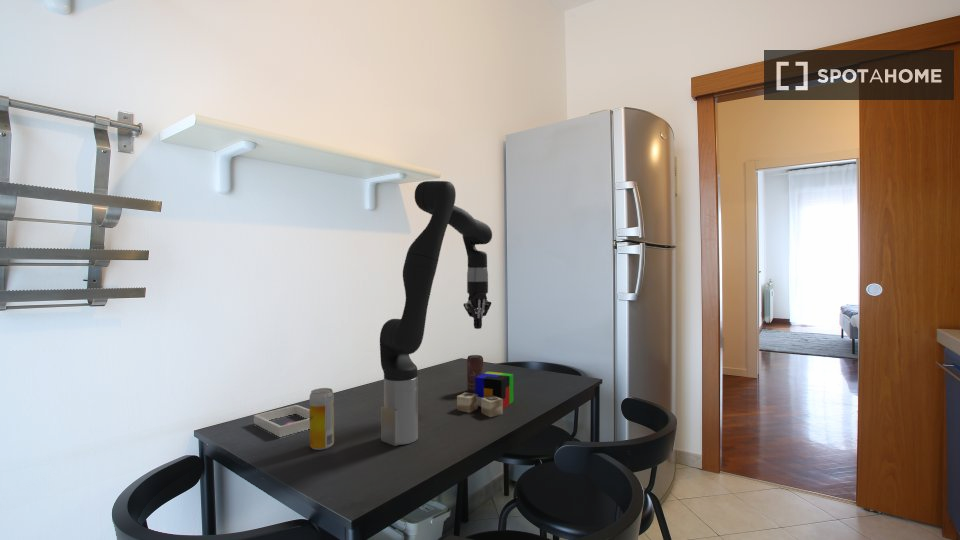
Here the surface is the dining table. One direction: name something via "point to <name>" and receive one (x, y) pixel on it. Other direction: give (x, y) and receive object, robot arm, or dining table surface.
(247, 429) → the dining table surface
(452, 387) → the dining table surface
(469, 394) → the marked block
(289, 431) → the dish rim
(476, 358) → the can
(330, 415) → the beer can
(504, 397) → the puzzle toy
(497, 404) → the marked block
